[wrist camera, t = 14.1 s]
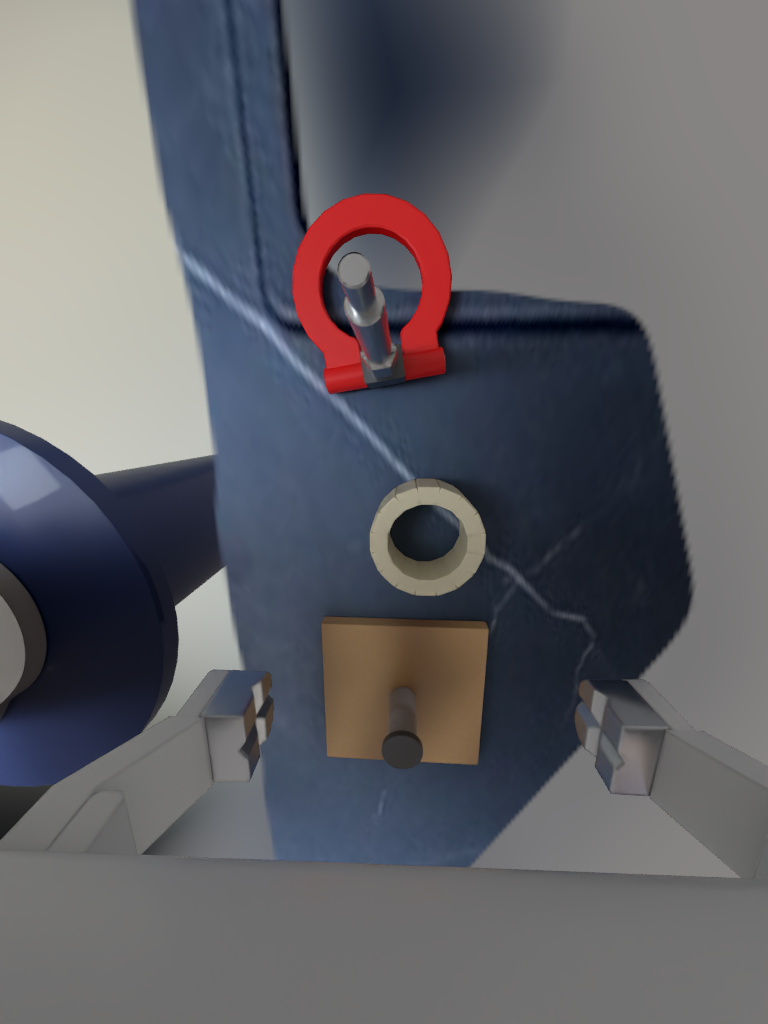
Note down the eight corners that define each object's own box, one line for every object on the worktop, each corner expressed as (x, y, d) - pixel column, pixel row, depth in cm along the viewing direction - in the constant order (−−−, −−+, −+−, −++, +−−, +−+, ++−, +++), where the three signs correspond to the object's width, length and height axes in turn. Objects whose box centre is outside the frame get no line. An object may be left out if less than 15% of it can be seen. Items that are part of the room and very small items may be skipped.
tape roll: (374, 574, 24) (370, 594, 21) (373, 477, 22) (369, 486, 19) (472, 576, 24) (482, 597, 21) (478, 478, 22) (489, 487, 19)
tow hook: (284, 225, 20) (317, 400, 21) (65, -163, 7) (189, 342, 9) (438, 191, 19) (459, 374, 21) (504, -313, 6) (546, 270, 8)
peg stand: (329, 745, 28) (312, 819, 22) (324, 615, 25) (303, 666, 20) (475, 753, 27) (492, 831, 22) (485, 621, 24) (507, 674, 19)
